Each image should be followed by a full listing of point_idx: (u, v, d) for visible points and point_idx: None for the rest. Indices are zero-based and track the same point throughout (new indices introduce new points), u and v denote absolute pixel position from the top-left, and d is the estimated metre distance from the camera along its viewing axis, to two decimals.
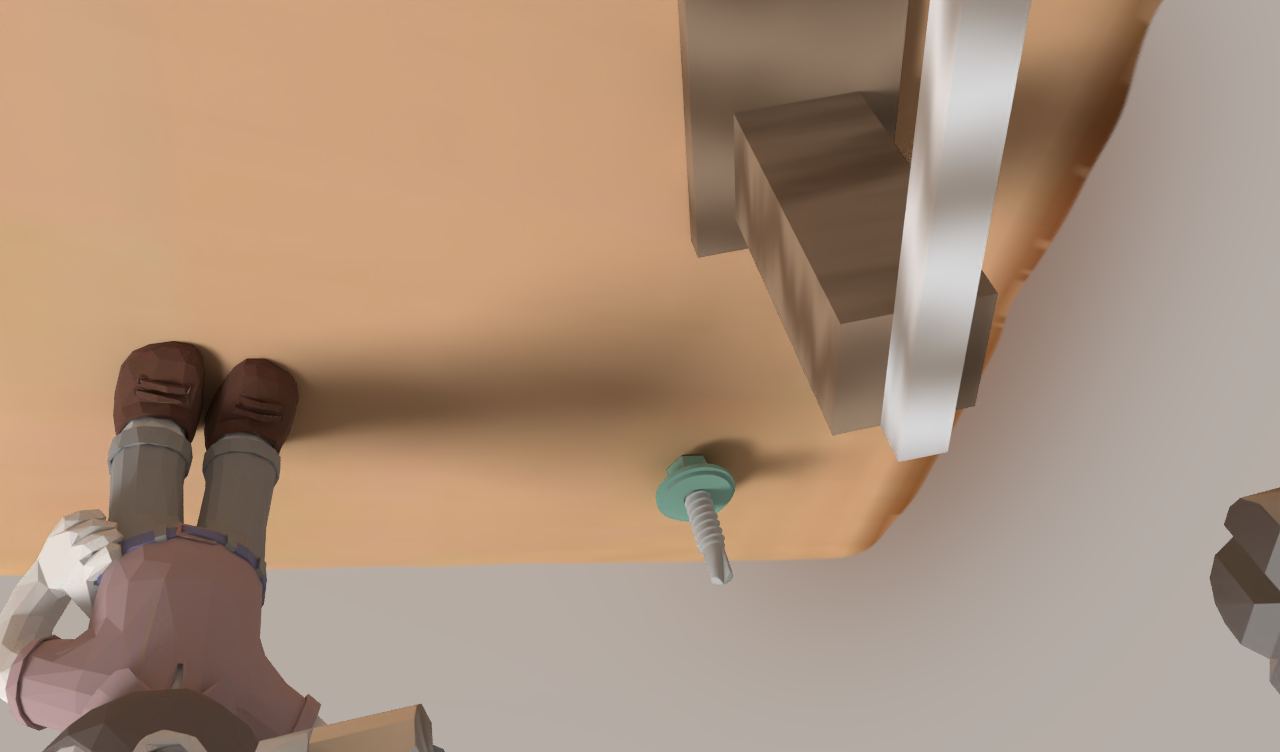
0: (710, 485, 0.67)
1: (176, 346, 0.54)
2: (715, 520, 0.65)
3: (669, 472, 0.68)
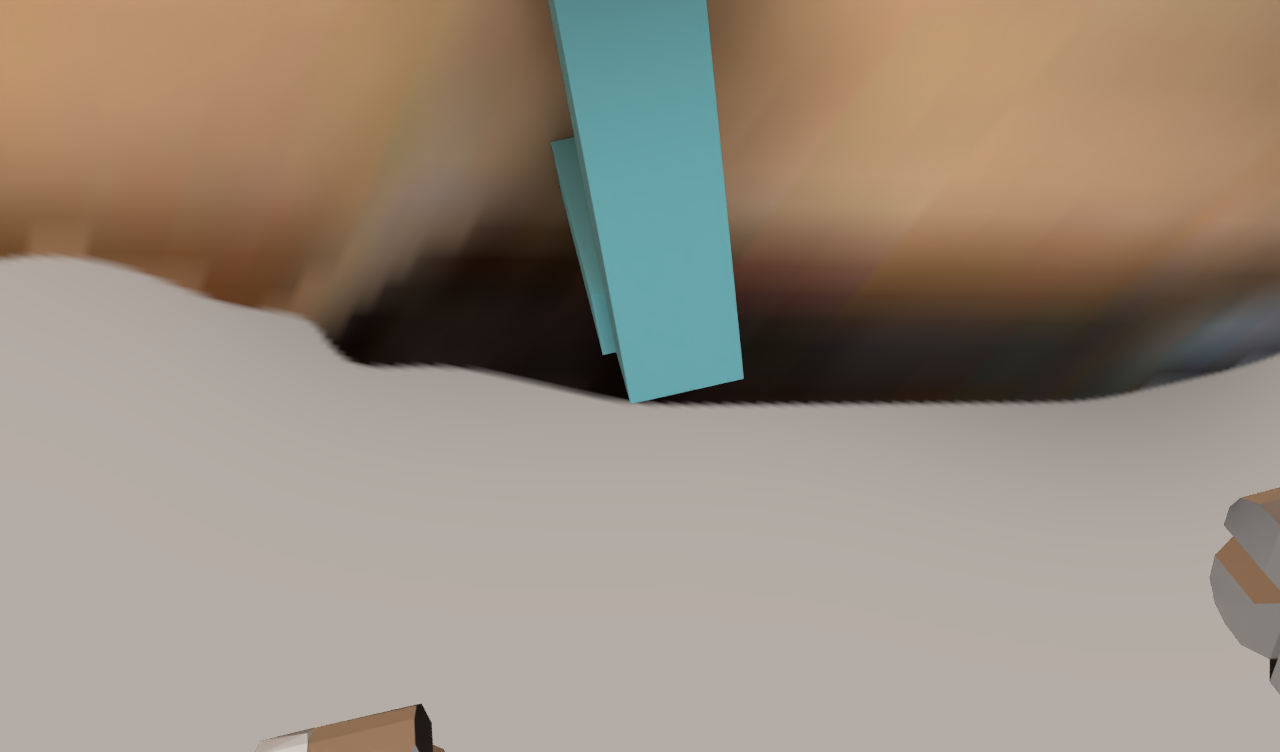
0: None
1: None
2: None
3: None
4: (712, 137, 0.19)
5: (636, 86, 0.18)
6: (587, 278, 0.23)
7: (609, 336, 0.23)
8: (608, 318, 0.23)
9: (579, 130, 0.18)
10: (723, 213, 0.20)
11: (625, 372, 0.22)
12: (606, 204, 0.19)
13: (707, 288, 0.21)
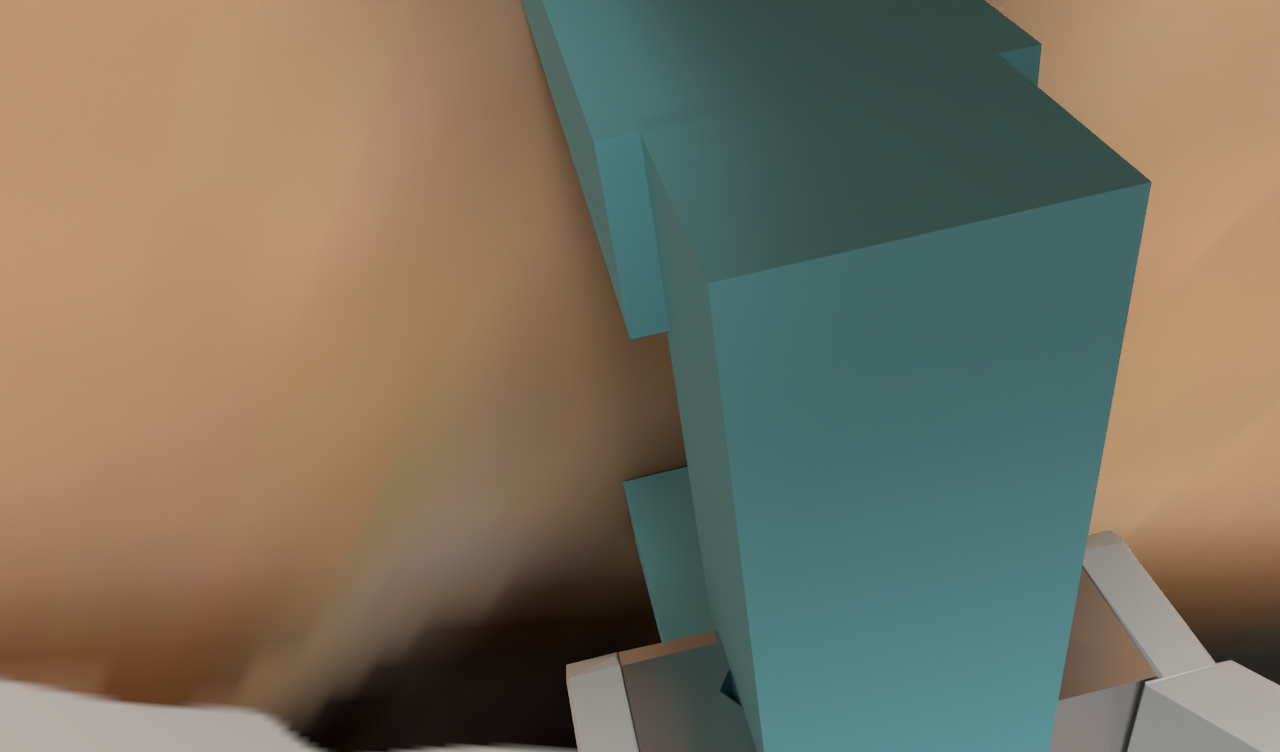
0: None
1: None
2: None
3: None
4: None
5: (900, 750, 0.09)
6: None
7: None
8: None
9: None
10: None
11: None
12: None
13: None
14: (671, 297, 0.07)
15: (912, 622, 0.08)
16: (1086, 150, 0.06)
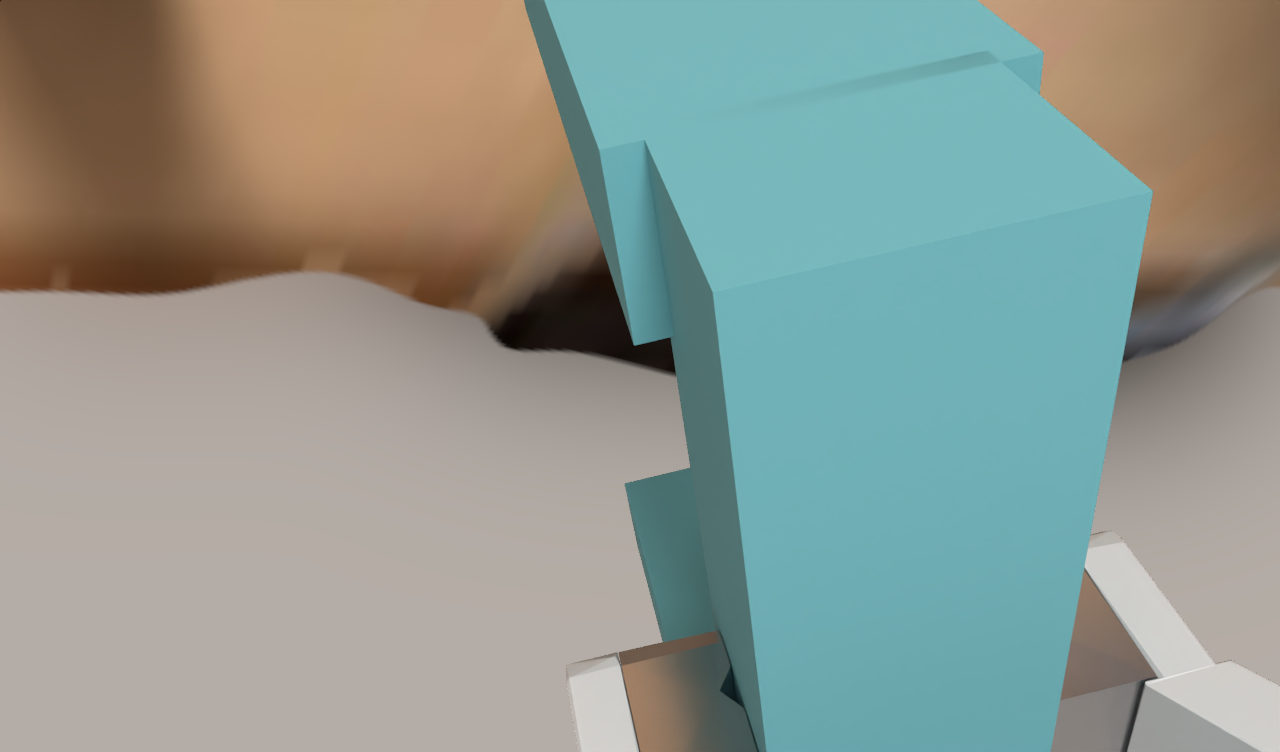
0: None
1: None
2: None
3: None
4: None
5: None
6: None
7: None
8: None
9: None
10: None
11: None
12: None
13: None
14: (675, 303, 0.07)
15: (914, 627, 0.08)
16: (1089, 159, 0.06)
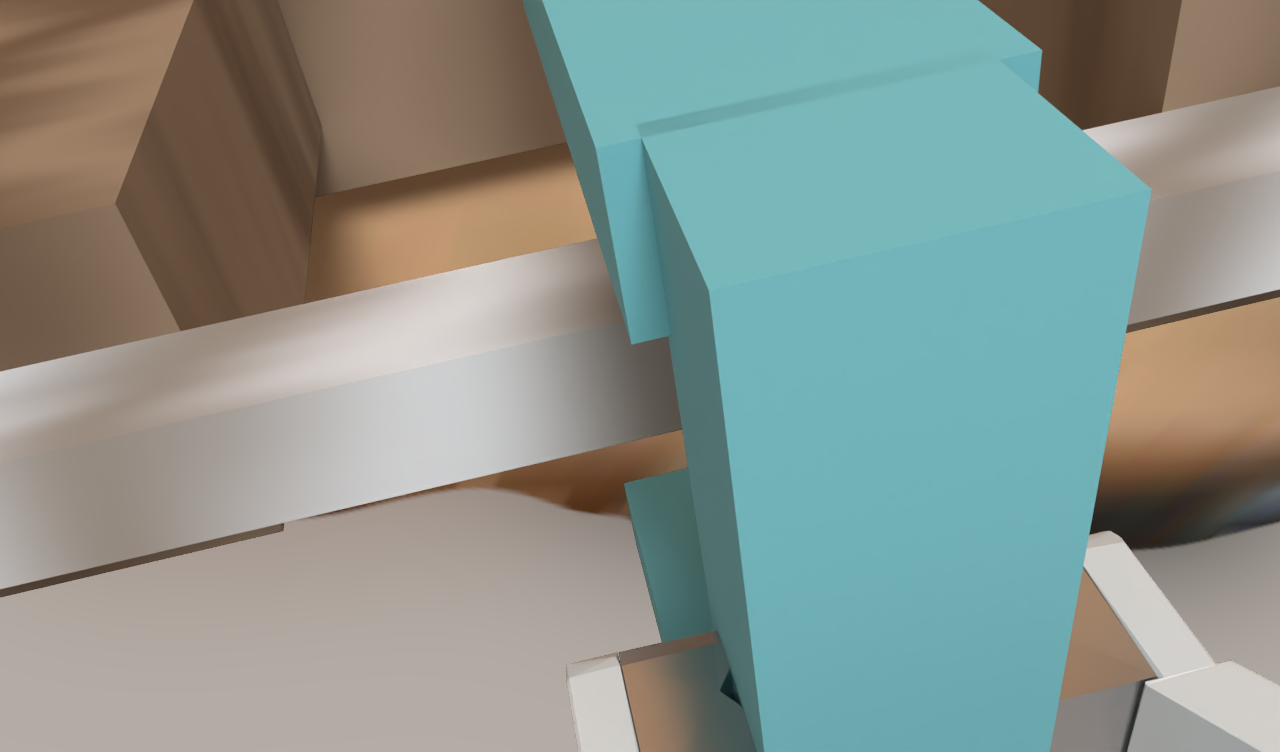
0: None
1: None
2: None
3: None
4: None
5: None
6: None
7: None
8: None
9: None
10: None
11: None
12: None
13: None
14: (672, 302, 0.07)
15: (912, 627, 0.08)
16: (1088, 158, 0.06)
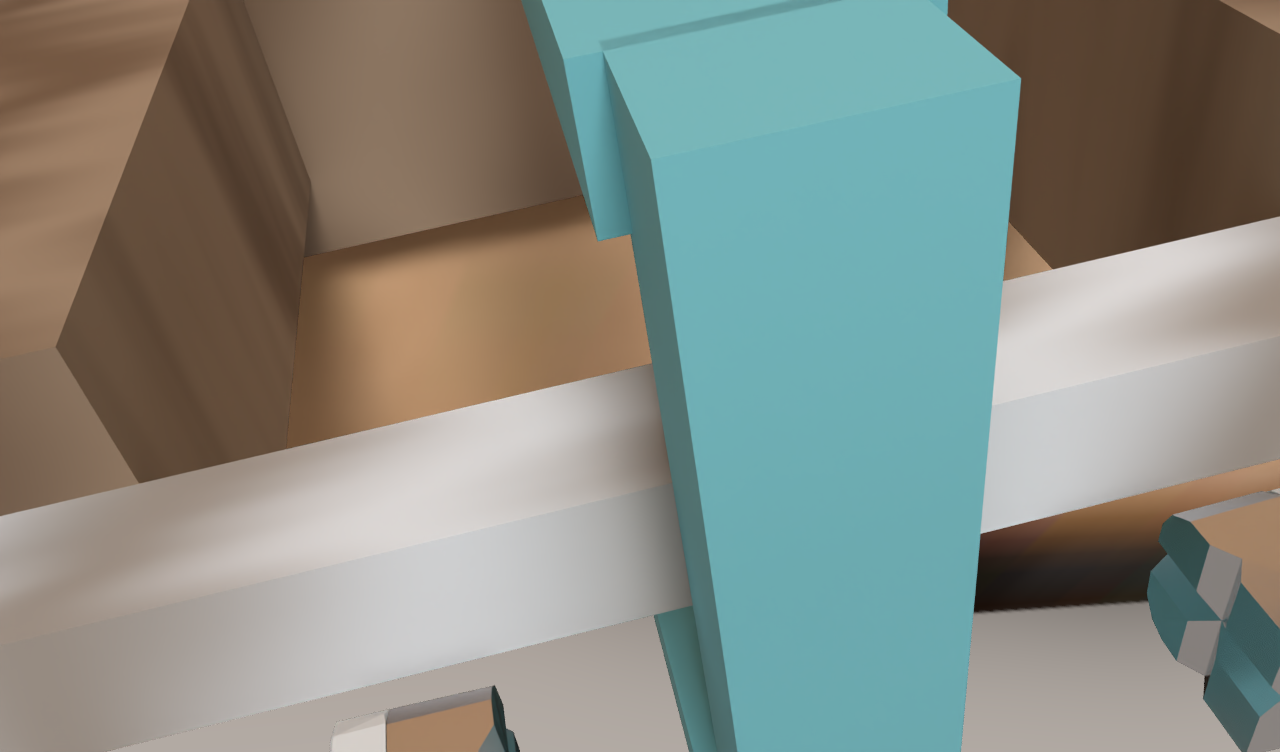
0: None
1: None
2: None
3: None
4: (956, 657, 0.11)
5: (837, 610, 0.10)
6: (690, 734, 0.15)
7: None
8: None
9: (727, 675, 0.10)
10: (954, 745, 0.12)
11: None
12: None
13: None
14: (631, 197, 0.08)
15: (840, 483, 0.09)
16: (973, 56, 0.07)
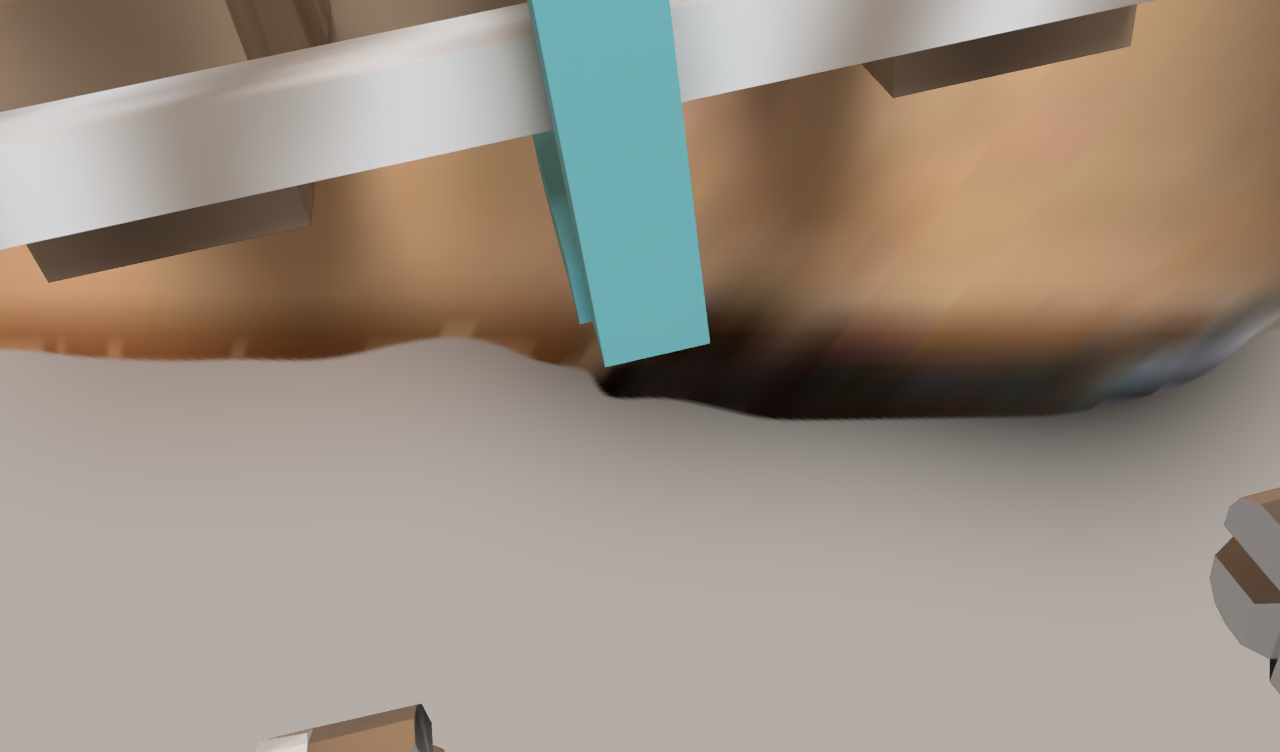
0: None
1: None
2: None
3: None
4: (676, 115, 0.21)
5: (606, 68, 0.20)
6: (564, 252, 0.25)
7: (585, 306, 0.25)
8: (584, 289, 0.25)
9: (554, 108, 0.20)
10: (687, 186, 0.22)
11: (599, 336, 0.24)
12: (580, 177, 0.21)
13: (674, 257, 0.23)
14: None
15: None
16: None
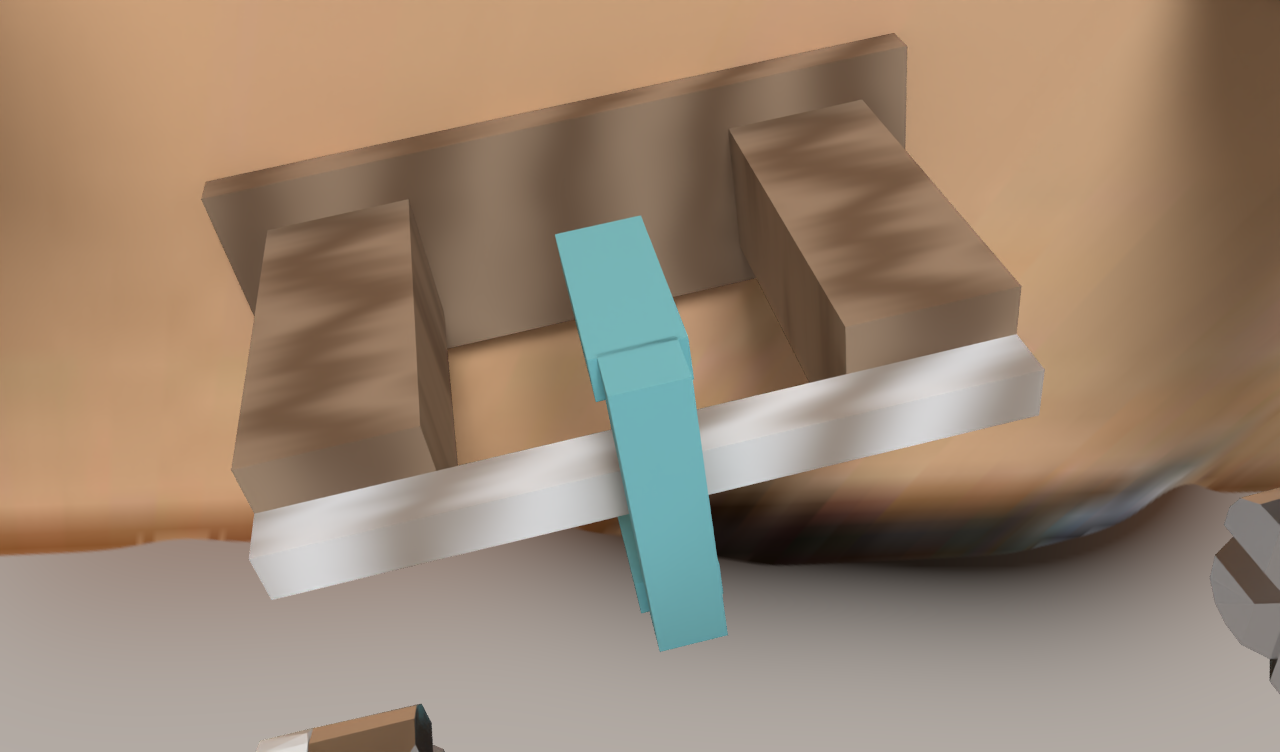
0: None
1: None
2: None
3: None
4: (708, 525, 0.34)
5: (667, 508, 0.33)
6: (632, 569, 0.38)
7: (645, 603, 0.38)
8: (645, 594, 0.38)
9: (634, 528, 0.33)
10: (714, 558, 0.35)
11: (657, 636, 0.37)
12: (648, 559, 0.34)
13: (705, 593, 0.36)
14: (604, 393, 0.32)
15: (662, 470, 0.32)
16: (684, 368, 0.30)
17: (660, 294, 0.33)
